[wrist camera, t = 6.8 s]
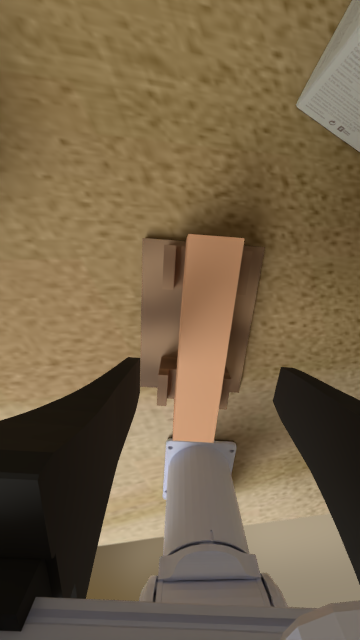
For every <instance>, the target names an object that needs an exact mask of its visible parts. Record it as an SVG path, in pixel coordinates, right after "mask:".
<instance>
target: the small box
mask: <svg viewBox="0 0 360 640" xmlns="http://www.w3.org/2000/svg"><path fill="white" fill-rule="evenodd" d="M296 106H297V107H298V108H299V109H300V110H302V111H303V112H304V113H306V114H307V115H308V116H310V117H311V118H313V119H314V120H315V121H317V122H318V123H320V124H321V125H322V126H324V127H325V128H327V129H328V130H329V131H331V132H332V133H333V134H335V135H336V136H338V137H339V138H340V139H342V140H343V141H345V142H346V143H348V144H349V145H350V146H352V147H353V148H355V149H356V150H357V151H359V152H360V0H352V1H351V3H350V5H349V7H348V9H347V10H346V12H345V14H344V16H343V18H342V20H341V21H340V23H339V25H338V27H337V29H336V31H335V32H334V34H333V36H332V38H331V40H330V42H329V44H328V45H327V47H326V49H325V51H324V53H323V55H322V56H321V58H320V60H319V62H318V64H317V66H316V67H315V69H314V71H313V73H312V75H311V77H310V79H309V80H308V82H307V84H306V86H305V88H304V90H303V92H302V94H301V96H300V98H299V99H298V101H297V104H296Z"/></svg>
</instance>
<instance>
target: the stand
mask: <svg viewBox="0 0 360 640" xmlns="http://www.w3.org/2000/svg"><path fill="white" fill-rule="evenodd" d="M185 250H186V241H176V240H163V239H149V238H143V248H142V308H141V367H140V387H156V388H158V391H157V405H159V406H166V402H167V398H170V399H174V398H175V384H176V371H177V358H178V344H179V331H180V317H181V304H182V291H183V277H184V264H185ZM264 250H265V247H255V246H243V252H242V259H241V266H240V272H239V279H238V285H237V292H236V298H235V305H234V312H233V318H232V325H231V331H230V338H229V344H228V351H227V358H226V364H225V371H224V377H223V384H222V390H221V397H220V404H219V409H227V403H228V397H229V392H238V393H239V388H240V382H241V377H242V371H243V366H244V360H245V355H246V349H247V344H248V338H249V333H250V327H251V322H252V316H253V311H254V305H255V300H256V294H257V289H258V283H259V278H260V272H261V267H262V261H263V256H264Z"/></svg>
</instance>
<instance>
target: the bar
mask: <svg viewBox="0 0 360 640" xmlns="http://www.w3.org/2000/svg"><path fill="white" fill-rule="evenodd" d="M244 239H245V238H235V237H222V236H208V235H195V234H188V236H187V239H186V250H185V264H184V277H183V291H182V304H181V317H180V331H179V344H178V358H177V371H176V384H175V398H174V418H173V441H190V442H208V443H214V436H215V430H216V423H217V417H218V410H219V404H220V397H221V390H222V384H223V377H224V371H225V364H226V358H227V351H228V344H229V338H230V331H231V325H232V318H233V312H234V305H235V298H236V292H237V285H238V279H239V272H240V266H241V259H242V252H243V246H244Z"/></svg>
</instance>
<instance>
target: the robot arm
mask: <svg viewBox="0 0 360 640" xmlns="http://www.w3.org/2000/svg"><path fill="white" fill-rule="evenodd" d="M139 394H140V358H132V357H128V358H126V359H125V360H124V361H122V362H121V363H119V364H118V365H117V366H115V367H114V368H113V369H111V370H110V371H108V372H107V373H105V374H104V375H102V376H101V377H99V378H98V379H96V380H94V381H93V382H91V383H90V384H88V385H86V386H85V387H83V388H81V389H79V390H77V391H75V392H73V393H71V394H69V395H67V396H65V397H63V398H61V399H58V400H56V401H54V402H51V403H49V404H47V405H44V406H42V407H39V408H37V409H34V410H31V411H28V412H26V413H23V414H20V415H17V416H14V417H11V418H8V419H4V420H1V421H0V640H360V601H350V602H340V603H331V604H328V605H326V606H323V607H321V608H296V607H295V608H294V607H288V606H287V603H286V601H285V599H284V597H283V594H282V592H281V590H280V589H279V587H278V586H277V585H276V584H275V583H274V581H273V580H272V578H271V577H270V576H269V574H267V573H260V571H259V568H258V563H257V559H256V555H255V554H249V550H248V545H247V542H246V537H245V532H244V529H243V524H242V519H241V515H240V511H239V506H238V502H237V498H236V494H235V489H234V485H233V481H232V476H231V474H232V469H233V463H234V458H235V453H236V448H237V446H236V444H235V443H234V442H227V441H214V443H208V442H190V441H173V438H169V439H168V440H167V441H166V455H165V470H164V485H163V498H164V499H165V500H166V514H165V531H164V549H163V550H164V551H163V556H161V557H160V559H159V574H158V576H155V575H151V576H150V577H149V579H148V582H147V583H146V585H145V586H144V588H143V589H142V592H141V595H140V599H139V601H124V600H100V599H86V595H87V590H88V586H89V581H90V577H91V572H92V568H93V563H94V559H95V554H96V550H97V546H98V541H99V537H100V533H101V528H102V524H103V520H104V516H105V511H106V507H107V503H108V499H109V495H110V491H111V487H112V483H113V479H114V475H115V471H116V467H117V464H118V460H119V457H120V454H121V451H122V448H123V446H124V443H125V440H126V437H127V434H128V431H129V429H130V426H131V423H132V420H133V417H134V414H135V411H136V407H137V403H138V398H139ZM273 402H274V405H275V407H276V410H277V412H278V415H279V417H280V419H281V421H282V423H283V425H284V426H285V428H286V430H287V431H288V433H289V435H290V437H291V438H292V440H293V442H294V443H295V445H296V447H297V448H298V450H299V452H300V454H301V455H302V457H303V459H304V460H305V462H306V464H307V466H308V467H309V469H310V471H311V473H312V475H313V477H314V479H315V481H316V483H317V485H318V487H319V489H320V491H321V494H322V496H323V498H324V500H325V502H326V504H327V507H328V509H329V511H330V513H331V515H332V518H333V520H334V522H335V525H336V527H337V529H338V531H339V534H340V536H341V539H342V541H343V543H344V546H345V549H346V551H347V554H348V556H349V558H350V561H351V563H352V565H353V568H354V571H355V573H356V576H357V579H358V581H359V584H360V400H358V399H356V398H354V397H352V396H349V395H347V394H345V393H343V392H341V391H339V390H337V389H335V388H333V387H332V386H330V385H328V384H326V383H324V382H322V381H320V380H318V379H316V378H314V377H312V376H310V375H308V374H306V373H304V372H302V371H300V370H297V369H295V368H287V367H281V369H280V373H279V378H278V382H277V386H276V390H275V394H274V398H273ZM170 446H171V447H170Z"/></svg>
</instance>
